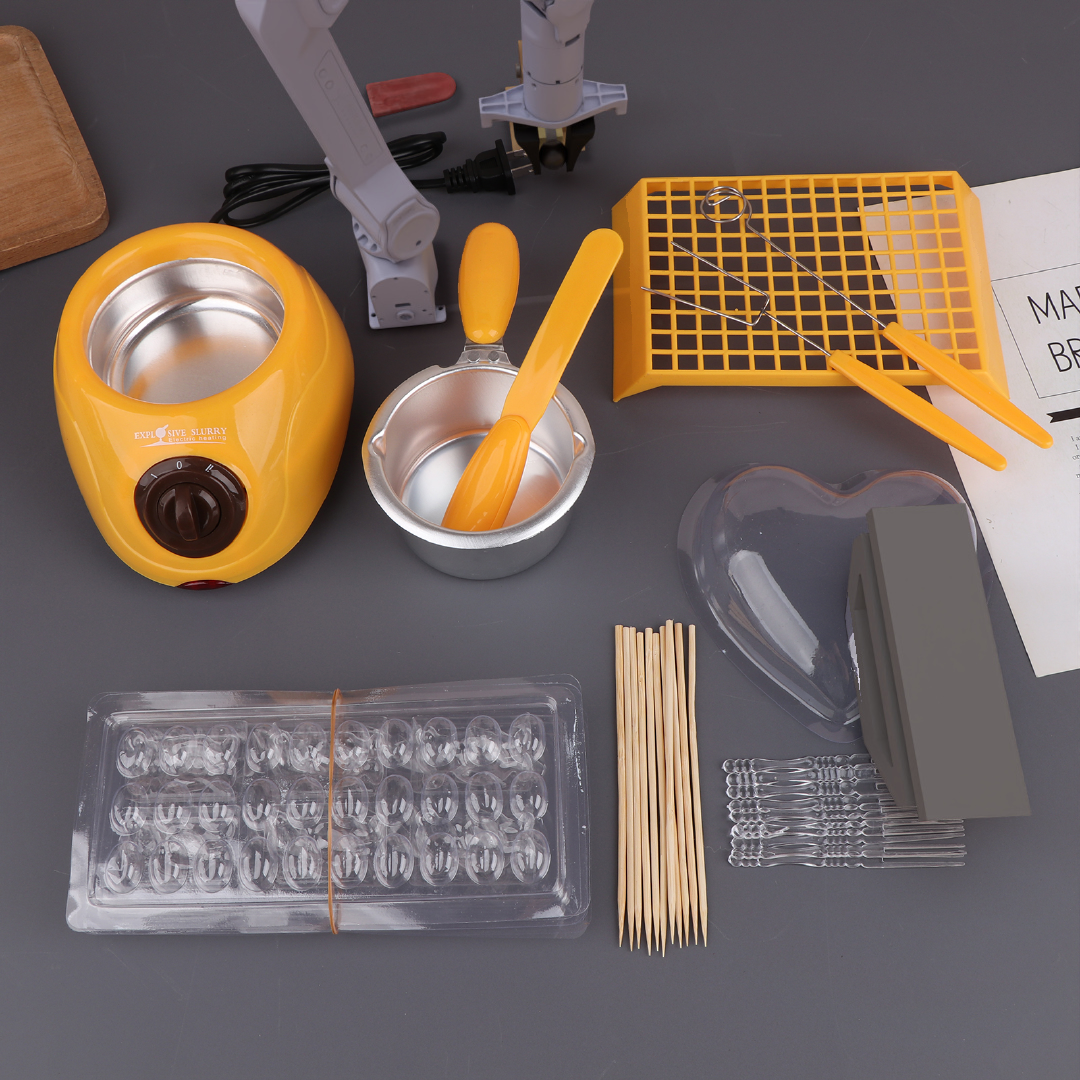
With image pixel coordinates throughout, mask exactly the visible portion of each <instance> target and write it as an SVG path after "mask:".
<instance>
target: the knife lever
mask: <svg viewBox="0 0 1080 1080" xmlns="http://www.w3.org/2000/svg"><path fill="white" fill-rule="evenodd" d="M545 135H546V142H544V143H543V144H542V146H541V147H540V150H539V159H540V165H542V166H543V167H544V168H545V169H547V170H549V171H555V170H559V169H560V168H562V167H563V166H564V165H566V159H567V150H566V147H565V145H564V144H563V143H562V142H561V141H559V140H557V134H556V129H547V128H545Z"/></svg>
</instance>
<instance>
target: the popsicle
mask: <svg viewBox="0 0 1080 1080" xmlns="http://www.w3.org/2000/svg"><path fill="white" fill-rule="evenodd" d="M456 89H457V83H456V81H455V79H454V78H453V77H452V76H451V75H450V74H448V73H445V72H442V71H441V72H436V71H435V72H429V73H428V72H427V73H422V74H416V75H410V76H404V77H399V78H394V79H393V78H392V79H388V80H382V81H376V82H371V83H367V84H366V85H365V90H366V93H367V98H368V100H369V105H370V108H371V112H372V113H371V114H372V117H373V118H381V117H385V116H388V115H392V114H397V113H401V112H405V111H409V110H413V109H418V108H421V107H426V106H430V105H433V104H434V105H435V104H438V103H442V102H445V101H447V100H449V99H451V98H452V97H453V96H454V94H455V93H456V92H457V91H456ZM365 103H366V101H365ZM366 104H367V103H366Z"/></svg>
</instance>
